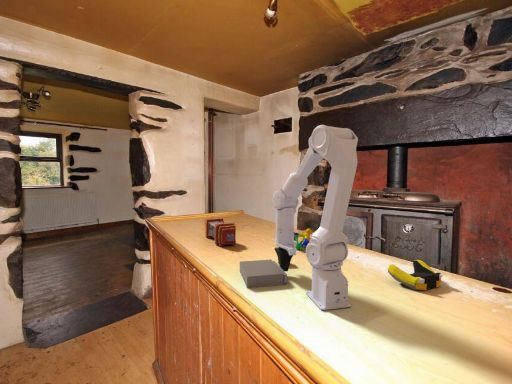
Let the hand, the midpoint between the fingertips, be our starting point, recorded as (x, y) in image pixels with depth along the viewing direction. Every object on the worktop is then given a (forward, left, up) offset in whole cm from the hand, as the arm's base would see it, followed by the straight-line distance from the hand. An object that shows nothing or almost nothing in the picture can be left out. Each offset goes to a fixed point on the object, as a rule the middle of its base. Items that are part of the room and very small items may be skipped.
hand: (284, 270), depth 83 cm
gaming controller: (-14, -37, -2) cm, 40 cm away
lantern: (+47, +16, -2) cm, 50 cm away
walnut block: (+10, -3, -2) cm, 11 cm away
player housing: (0, +8, -2) cm, 8 cm away
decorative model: (+27, -19, -2) cm, 33 cm away
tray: (0, +7, -1) cm, 7 cm away
